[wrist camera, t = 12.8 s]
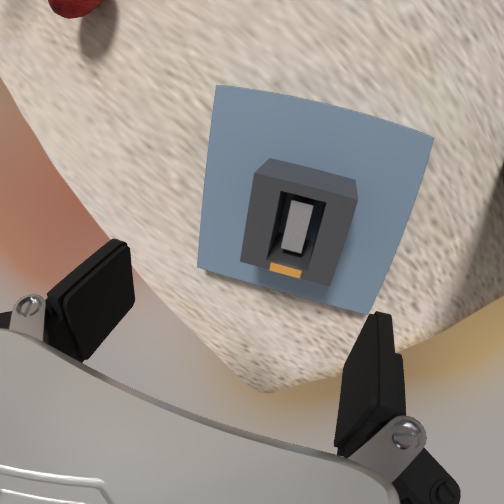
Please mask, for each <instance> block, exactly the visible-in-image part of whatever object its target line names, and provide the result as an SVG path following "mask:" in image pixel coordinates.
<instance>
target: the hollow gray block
mask: <svg viewBox="0 0 504 504" xmlns="http://www.w3.org/2000/svg"><path fill="white" fill-rule="evenodd" d="M287 192H288V193H292V194H296V195H300V196H304V197H308V198H311V199H315V200H319V201H323V202H324V205H323V209H322V213H321V217H320V220H319V224H318V228H317V231H316V235H315V238H314V241H310V240H306V239H305V241H304V244H303V248H302V252H301V253H298V252H294V251H290V250H287V249H283V248H281V245H282V241H283V237H284V233H280V232H279V229H280V224H281V220H282V215H283V210H284V206H285V201H286V196H287ZM357 202H358V194H357V187H356V180H354V179H351V178H347V177H344V176H340V175H336V174H333V173H329V172H325V171H322V170H318V169H314V168H310V167H306V166H302V165H298V164H294V163H289V162H285V161H281V160H277V159H272V158H269V159H268V160H267V161H266V162H265V163H264V164H263V165H262V166H261V167H260V168H259V169H258V170H257V171H256V172H255V173H254V176H253V183H252V189H251V195H250V201H249V207H248V213H247V219H246V225H245V232H244V238H243V244H242V250H241V257H240V262H243V263H247V264H250V265H254V266H257V267H261V268H264V269H268V270H270V271H274V272H277V273H281V274H285V275H288V276H292V277H296V278H299V279H300V278H301V279H304V280H308V281H311V282H315V283H319V284H322V285H326V286H330V285H331V282H332V279H333V276H334V273H335V270H336V267H337V265H338V262H339V259H340V256H341V253H342V250H343V247H344V244H345V241H346V238H347V235H348V231H349V228H350V225H351V222H352V219H353V215H354V212H355V209H356V206H357Z"/></svg>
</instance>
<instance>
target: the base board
mask: <svg viewBox="0 0 504 504" xmlns="http://www.w3.org/2000/svg"><path fill="white" fill-rule="evenodd" d="M433 141H434V138H433V137H431V136H429V135H427V134H425V133H422V132H419V131H417V130H414V129H411V128H408V127H405V126H402V125H399V124H396V123H393V122H390V121H387V120H384V119H380V118H377V117H374V116H371V115H367V114H364V113H360V112H357V111H353V110H349V109H346V108H342V107H338V106H334V105H330V104H326V103H321V102H317V101H313V100H308V99H304V98H299V97H294V96H289V95H284V94H278V93H273V92H267V91H261V90H255V89H248V88H241V87H234V86H226V85H216V90H215V98H214V105H213V113H212V120H211V128H210V136H209V145H208V154H207V162H206V172H205V181H204V191H203V202H202V213H201V224H200V236H199V249H198V262H197V267H198V268H201V269H204V270H208V271H211V272H214V273H218V274H221V275H225V276H228V277H231V278H235V279H238V280H242V281H245V282H249V283H252V284H256V285H259V286H263V287H266V288H270V289H273V290H277V291H281V292H284V293H288V294H291V295H295V296H299V297H302V298H306V299H310V300H313V301H317V302H321V303H324V304H328V305H332V306H336V307H339V308H343V309H347V310H351V311H355V312H358V313H362V314H366V315H368V313H369V311H370V309H371V307H372V305H373V303H374V301H375V299H376V296H377V294H378V292H379V290H380V288H381V285H382V283H383V281H384V279H385V276H386V274H387V272H388V269H389V267H390V265H391V262H392V260H393V257H394V255H395V252H396V250H397V247H398V245H399V242H400V240H401V237H402V235H403V232H404V229H405V227H406V224H407V221H408V219H409V216H410V213H411V210H412V208H413V205H414V202H415V199H416V196H417V193H418V190H419V187H420V184H421V181H422V178H423V175H424V171H425V168H426V165H427V162H428V158H429V155H430V151H431V148H432V144H433ZM269 158H272V159H277V160H281V161H285V162H289V163H294V164H298V165H302V166H306V167H310V168H314V169H318V170H322V171H325V172H329V173H333V174H336V175H340V176H344V177H347V178H351V179H354V180H356V187H357V194H358V202H357V206H356V209H355V212H354V215H353V219H352V222H351V225H350V228H349V231H348V235H347V238H346V241H345V244H344V247H343V250H342V253H341V256H340V259H339V262H338V265H337V267H336V270H335V273H334V276H333V279H332V282H331V285H330V286H326V285H322V284H319V283H315V282H311V281H308V280H304V279H301V278H300V279H299V278H296V277H292V276H288V275H285V274H281V273H277V272H274V271H270V270H268V269H264V268H261V267H257V266H254V265H250V264H247V263H243V262H240V257H241V250H242V244H243V238H244V232H245V225H246V219H247V213H248V207H249V201H250V195H251V189H252V183H253V176H254V173H255V172H256V171H257V170H258V169H259V168H260V167H261V166H262V165H263V164H264V163H265V162H266V161H267V160H268V159H269ZM293 196H294V194H292V193H288V192H287V196H286V201H285V206H284V210H283V215H282V220H281V224H280V229H279V232H280V233H284V232H285V228H286V223H287V219H288V214H289V210H290V205H291V201H292V198H293ZM323 205H324V202H323V201H319V200H315V202H314V206H313V210H312V214H311V218H310V221H309V225H308V229H307V233H306V237H305V239H306V240H310V241H314V238H315V235H316V231H317V228H318V224H319V220H320V217H321V213H322V209H323Z"/></svg>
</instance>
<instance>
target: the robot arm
mask: <svg viewBox="0 0 504 504" xmlns="http://www.w3.org/2000/svg"><path fill="white" fill-rule="evenodd" d="M47 296H48V298H47V299H46V300H45V299H44V298H43V297H42V296H40V295H37V294H29V295H25V296H23V297H21V298H20V299H19V300H17V302H16V303H15V304H14V307H13V310H12V311H10V312H4V313H0V504H459V501H460V489H459V485H458V484H457V483H456V481H455V480H454V479H453V478H452V477H451V476H450V475H449V474H448V473H447V472H446V471H445V469H444V468H443V467H442V466H441V465H440V464H439V463H438V462H437V461H436V460H435V459H434V458H433V457H432V456H431V455H430V453H429V452H428V451H427V450H426V449H425V448H424V446H425V444H426V439H427V437H426V432H425V429H424V427H423V426H422V425H421V423H420V422H419V421H418V420H416V419H415V418H413V417H410V416H406V402H405V383H404V370H403V359H402V355H401V354H397V353H395V346H394V335H393V325H392V317H391V315H390V314H386V313H382V312H378V311H376V312H375V313H374V315H373V314H369V316H368V317H367V320H366V322H365V324H364V326H363V328H362V330H361V332H360V334H359V336H358V338H357V340H356V342H355V344H354V346H353V348H352V350H351V352H350V354H349V356H348V358H347V360H346V362H345V364H344V368H343V374H342V385H341V393H340V402H339V410H338V418H337V425H336V432H335V439H334V447H338V451H337V455H335V454H331V453H327V452H323V451H318V450H315V449H311V448H307V447H303V446H299V445H295V444H291V443H287V442H283V441H279V440H276V439H272V438H269V437H265V436H261V435H258V434H254V433H251V432H248V431H244V430H241V429H238V428H234V427H231V426H228V425H225V424H222V423H219V422H216V421H213V420H210V419H208V418H204V417H202V416H199V415H197V414H194V413H191V412H188V411H186V410H183V409H180V408H178V407H175V406H173V405H170V404H168V403H165V402H163V401H161V400H158V399H156V398H154V397H151V396H149V395H147V394H144V393H142V392H140V391H138V390H135V389H133V388H131V387H129V386H126V385H125V384H122V383H120V382H118V381H116V380H114V379H112V378H110V377H108V376H106V375H104V374H102V373H100V372H98V371H96V370H94V369H92V368H90V367H88V366H86V365H84V364H83V363H82V362H83V361H84V360H87V359H89V358H90V357H91V355H92V354H93V353H94V352H95V351H96V349H97V348H98V347H99V346H100V344H101V343H102V342H103V341H104V340H105V338H106V337H107V336H108V335H109V334H110V332H111V331H112V330H113V329H114V328H115V327H116V325H117V324H118V323H119V322H120V321H121V319H122V318H123V317H124V316H125V315H126V314H127V312H128V311H129V310H130V309H131V308H132V307H133V305H134V302H135V294H134V285H133V276H132V265H131V253H130V248H129V247H128V246H127V243H126V242H124V241H120V240H117V239H111V240H110V241H109V242H107V243H106V244H105V245H104V246H103V247H101V248H100V249H99V250H97V251H96V252H95V253H94V254H93V255H91V256H90V257H89V258H88V259H86V260H85V261H84V262H83V263H82V264H80V265H79V266H78V267H77V268H76V269H74V270H73V271H72V272H71V273H70V274H68V275H67V276H66V277H65V278H64V279H63V280H62V281H60V282H59V283H58V284H57V285H56V286H55V287H54V288H53V289H51V290H50V291H49V292H48V293H47ZM341 456H343V457H341Z"/></svg>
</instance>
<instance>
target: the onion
mask: <svg viewBox="0 0 504 504" xmlns="http://www.w3.org/2000/svg"><path fill="white" fill-rule="evenodd" d="M101 1H102V0H48V2H49V4H50V6H51V8H52V10H53V11H54V12H55V13H56V14H58V15H60V16H62V17H64V18H68V19H71V18H78V17H83V16H85V15H86V14H88V13H90V12H91V11H92V10H94V9H95V8H96V7H97V6H98V4H99V3H100V2H101Z"/></svg>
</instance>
